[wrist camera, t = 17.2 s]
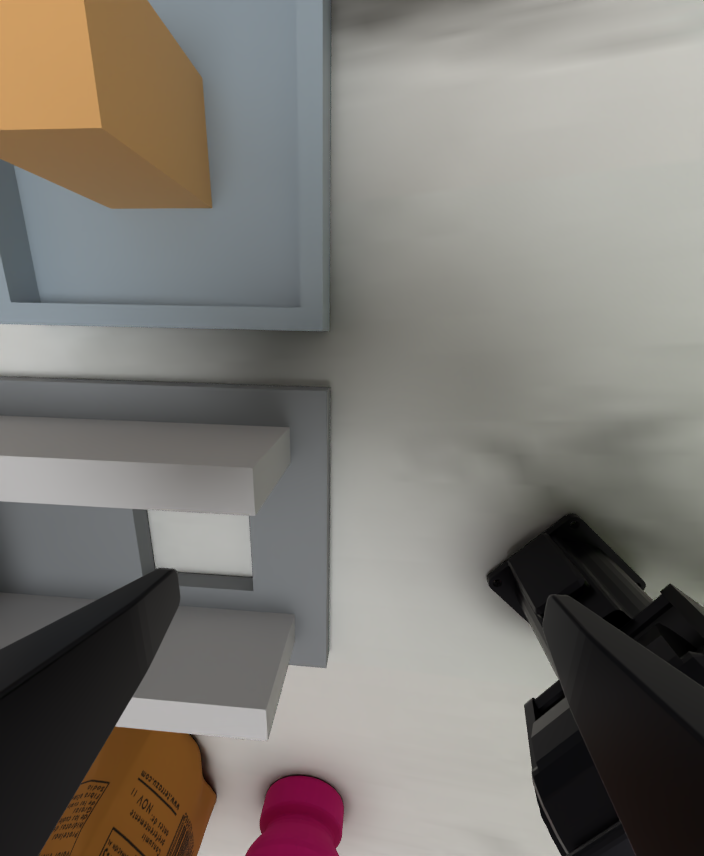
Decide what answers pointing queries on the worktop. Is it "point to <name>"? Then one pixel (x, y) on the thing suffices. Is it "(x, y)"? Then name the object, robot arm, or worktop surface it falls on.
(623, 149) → the worktop surface
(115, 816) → the coffee package
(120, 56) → the orange block
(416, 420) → the worktop surface
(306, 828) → the pepper mill
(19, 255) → the slate tray
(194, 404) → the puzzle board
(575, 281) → the worktop surface
